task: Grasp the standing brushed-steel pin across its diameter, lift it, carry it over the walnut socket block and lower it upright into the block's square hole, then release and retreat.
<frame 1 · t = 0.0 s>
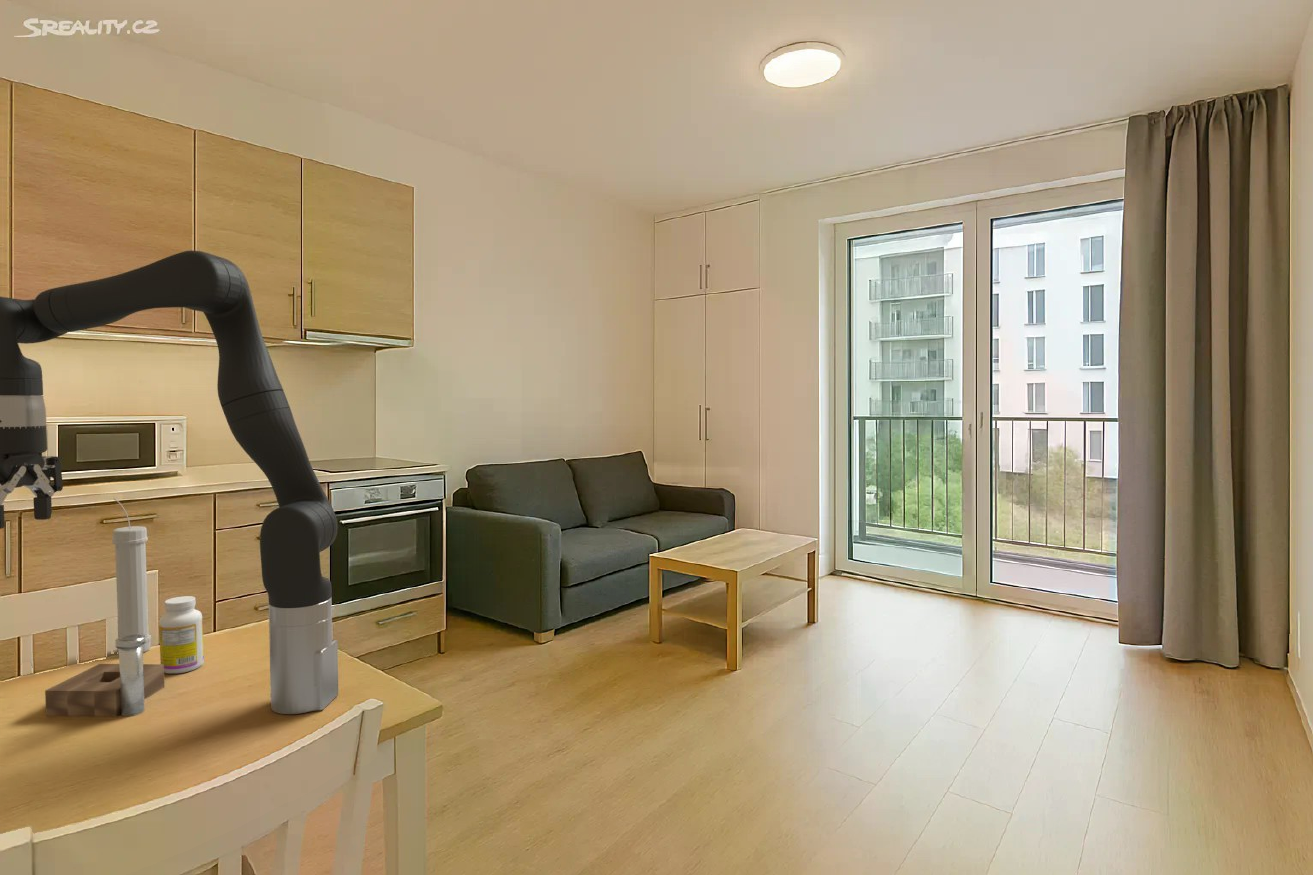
hand: (20, 523, 115), 29 cm above the table, fingers open, 8 cm apart
socket block: (108, 700, 117), on the table
pin: (133, 711, 113), on the table
supplement bottle: (182, 668, 131), on the table
pipe: (132, 652, 139), on the table
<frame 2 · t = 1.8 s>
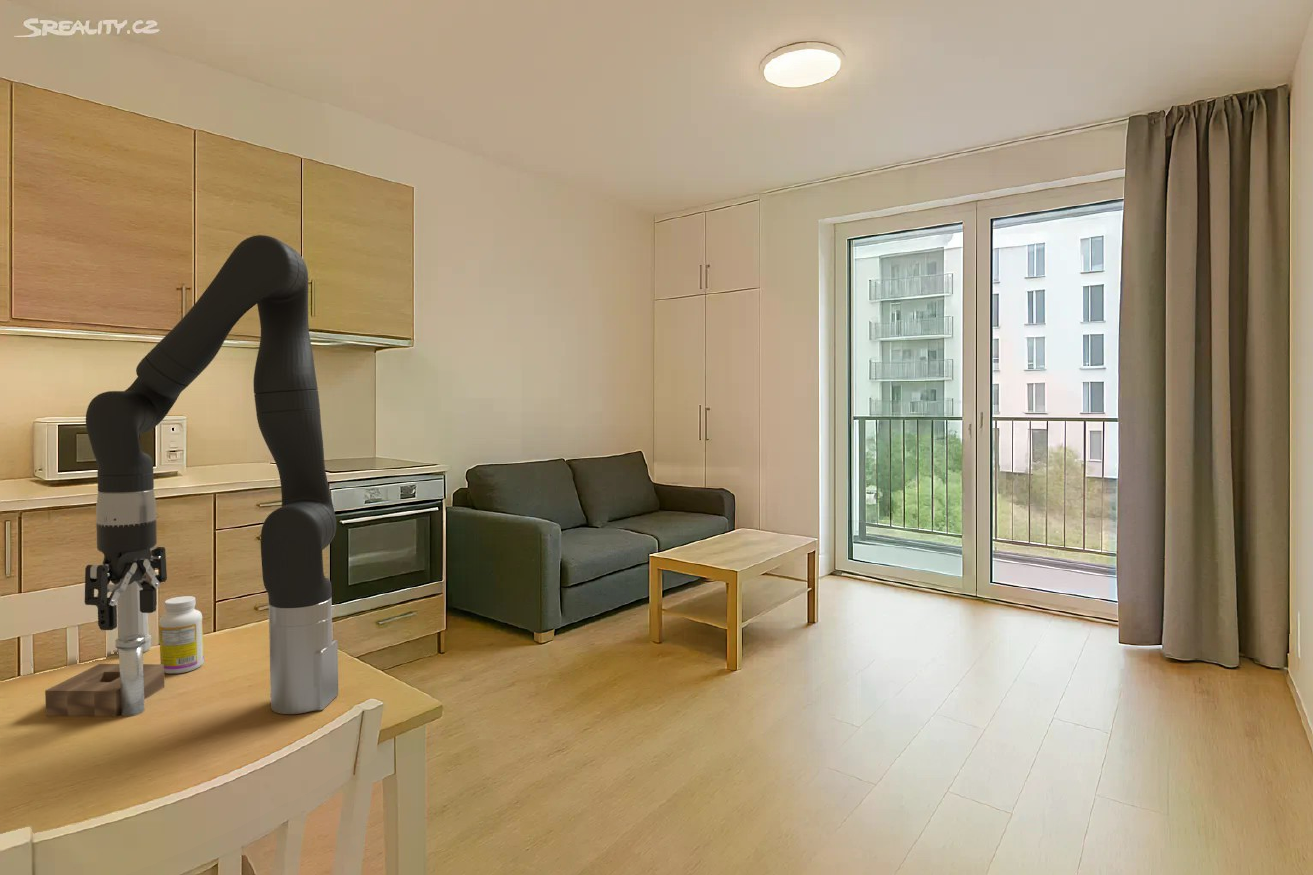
hand: (129, 620, 112), 15 cm above the table, fingers open, 8 cm apart
nothing on the table moved.
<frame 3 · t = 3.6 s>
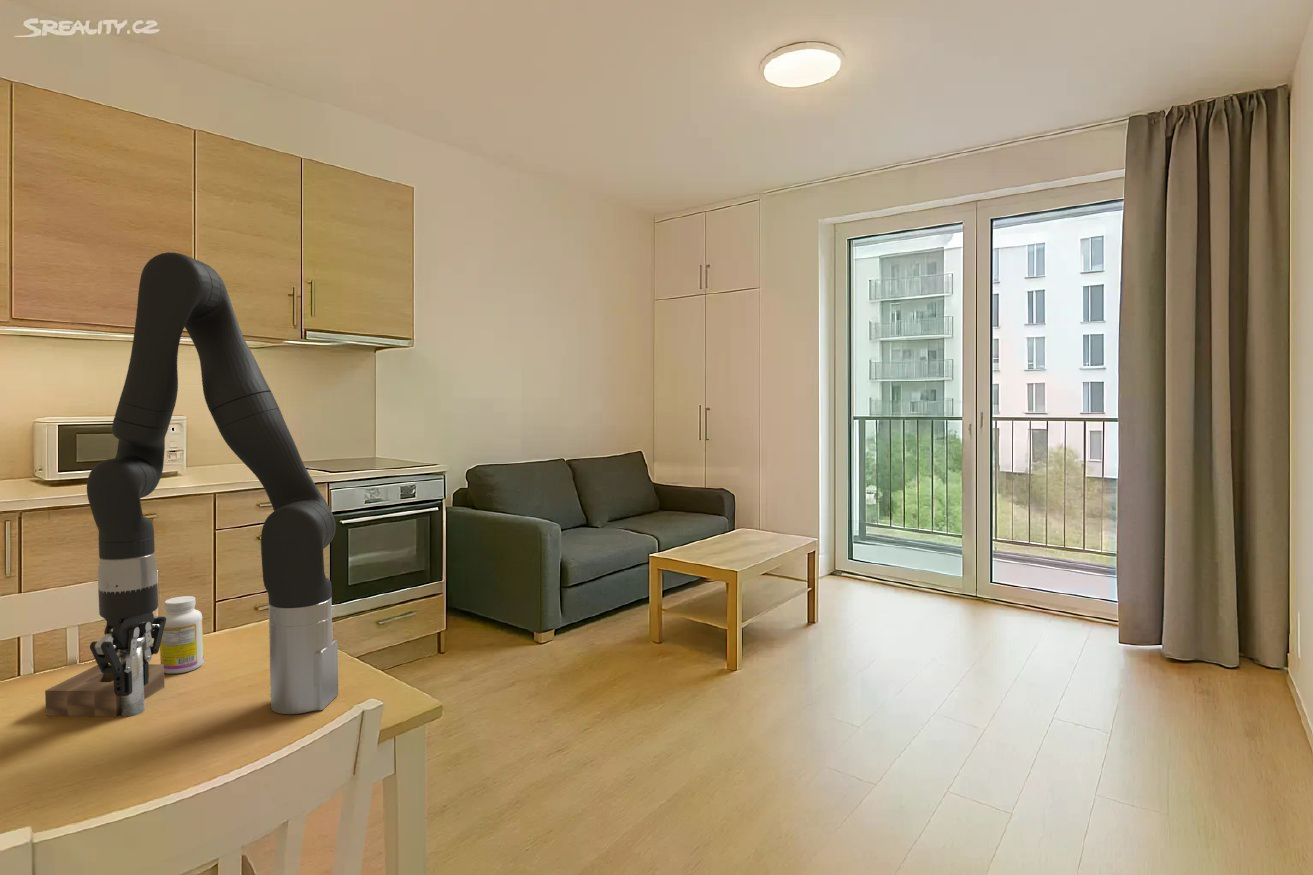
hand: (132, 689, 113), 4 cm above the table, fingers closed on pin, 3 cm apart
pin: (133, 711, 113), on the table, touching gripper, socket block
everything else where it was.
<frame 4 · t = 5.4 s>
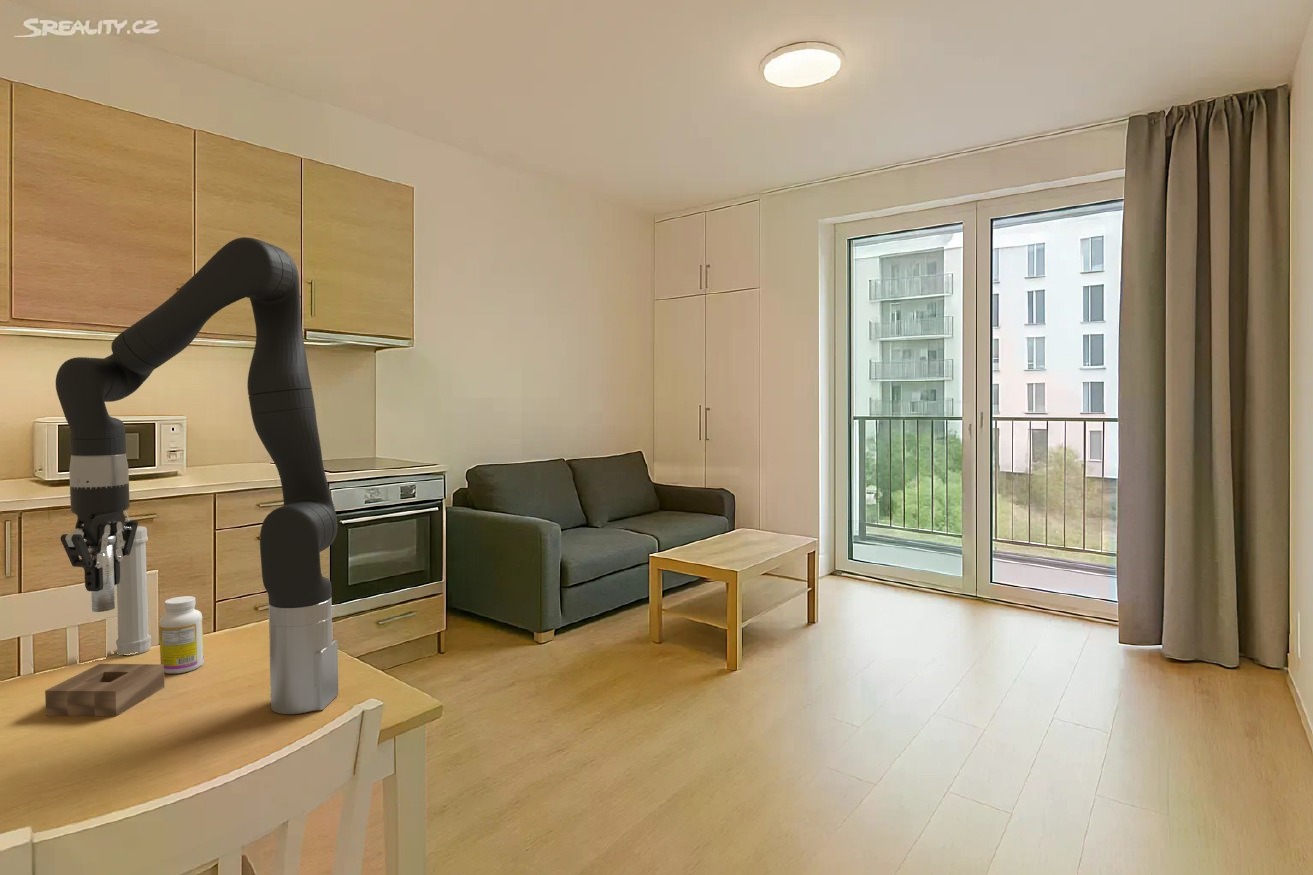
hand: (103, 586, 116), 19 cm above the table, fingers closed on pin, 3 cm apart
pin: (103, 609, 116), point 15 cm above the table, touching gripper
everything else where it was.
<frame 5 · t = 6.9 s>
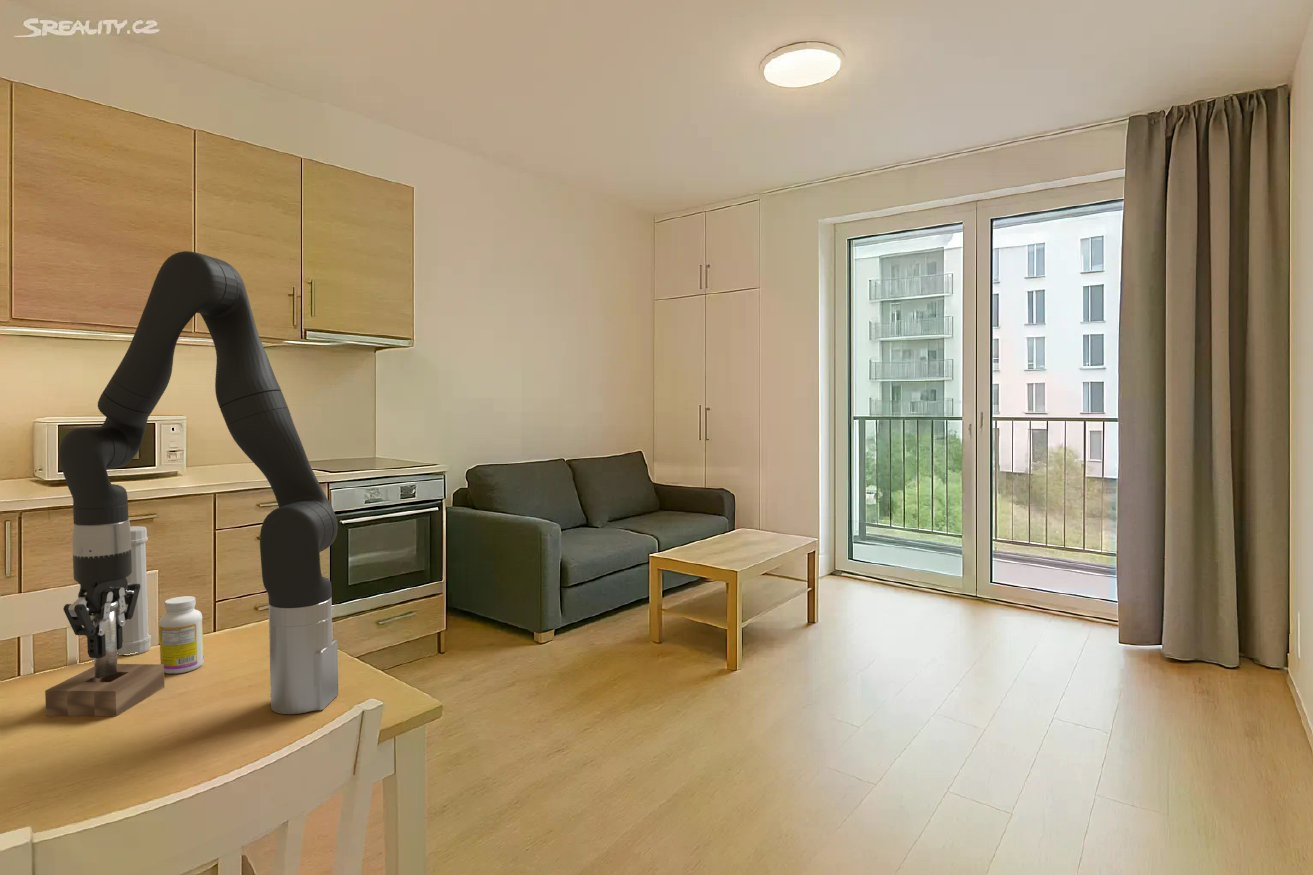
hand: (106, 652, 117), 8 cm above the table, fingers closed on pin, 3 cm apart
pin: (106, 674, 117), point 4 cm above the table, touching gripper
everything else where it was.
when the fingers open (5 cm above the table, at t = 7.7 s): pin drops 1 cm, resting in socket block.
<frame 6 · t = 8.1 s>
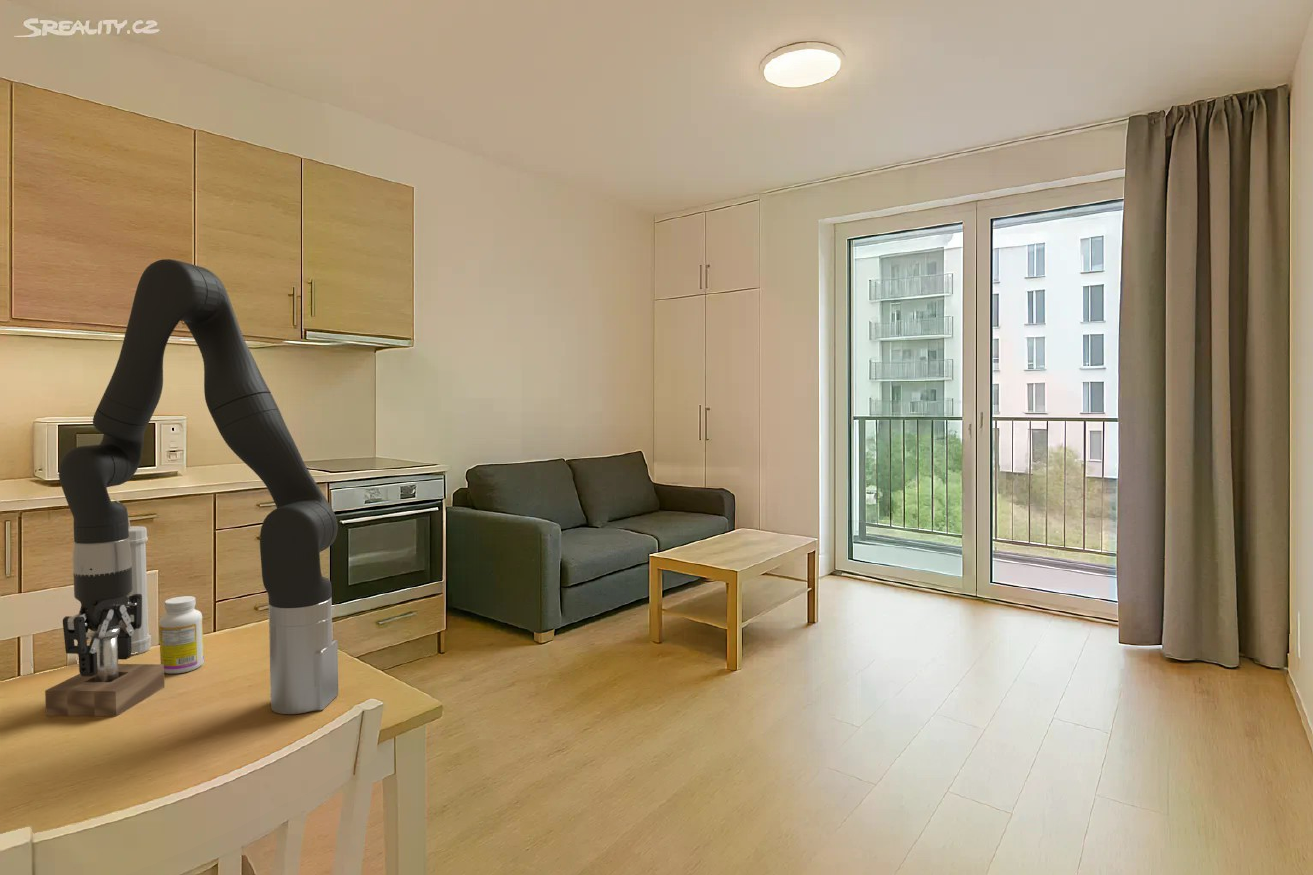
hand: (106, 666, 117), 6 cm above the table, fingers open, 6 cm apart
pin: (108, 700, 117), resting in socket block
everything else where it was.
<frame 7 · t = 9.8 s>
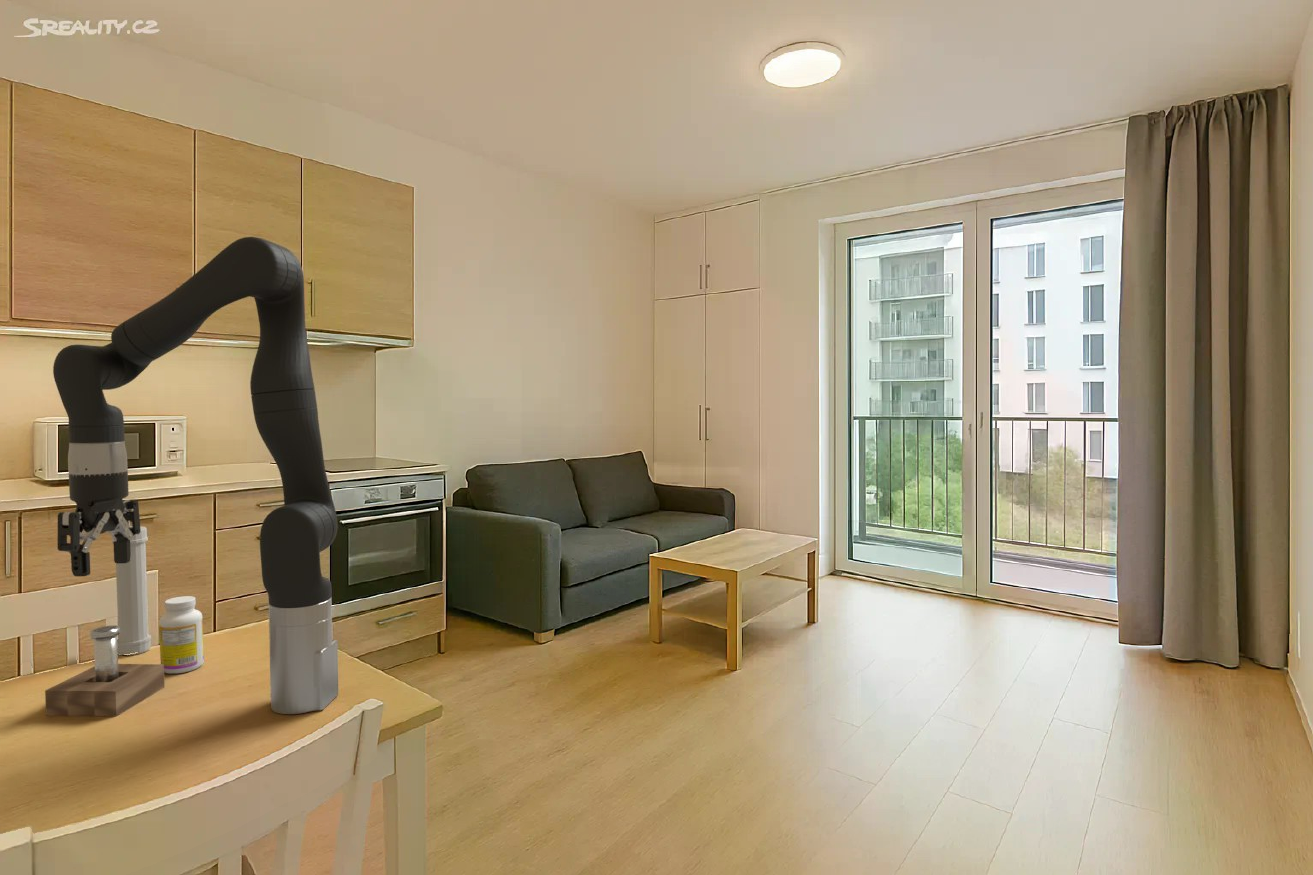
hand: (102, 569, 116), 22 cm above the table, fingers open, 8 cm apart
nothing on the table moved.
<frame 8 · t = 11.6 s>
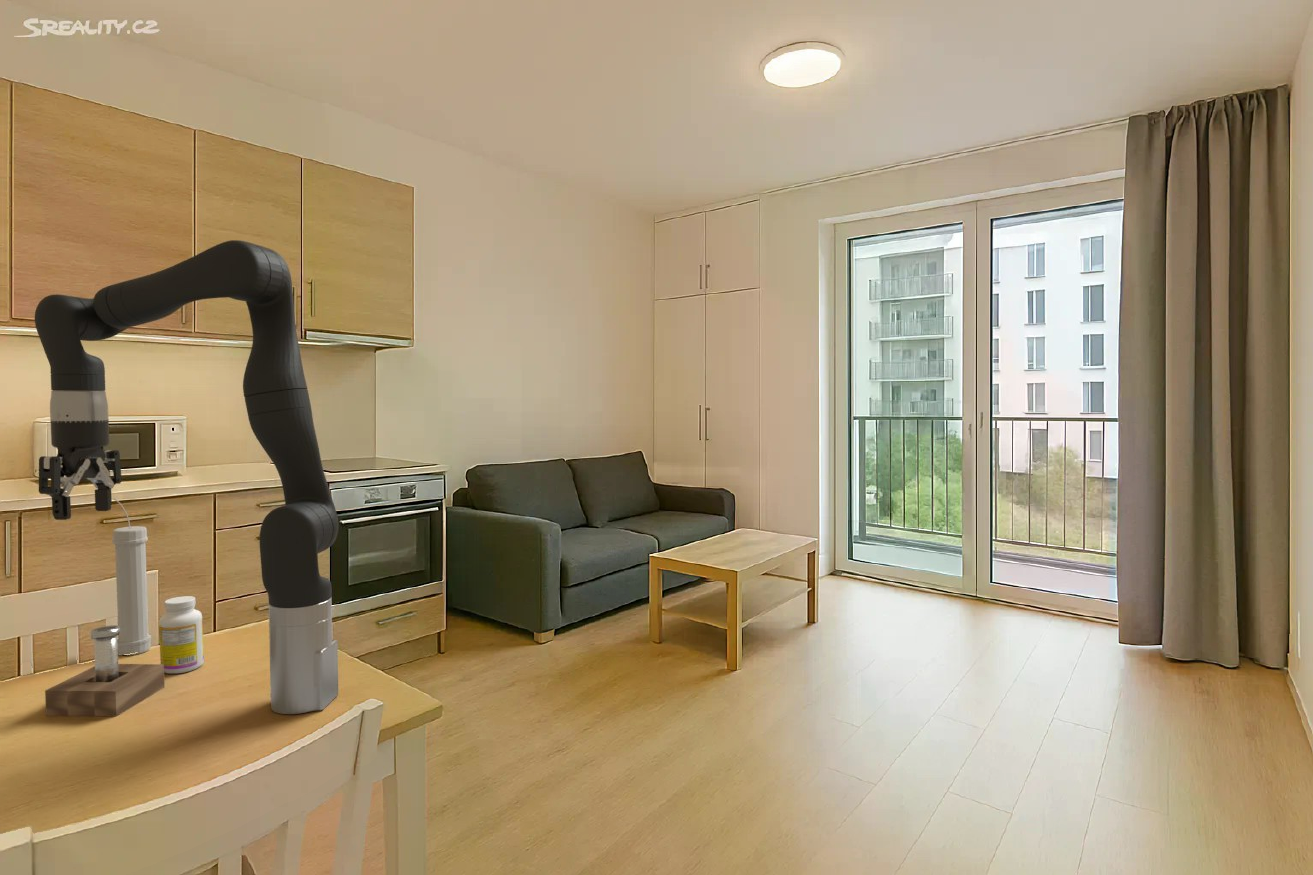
hand: (83, 514, 119), 30 cm above the table, fingers open, 8 cm apart
nothing on the table moved.
at the end: pin 0.0 cm off-centre on the socket block, point 0.0 cm above the socket block's base; pin tilted 0°; the gripper is holding nothing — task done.
